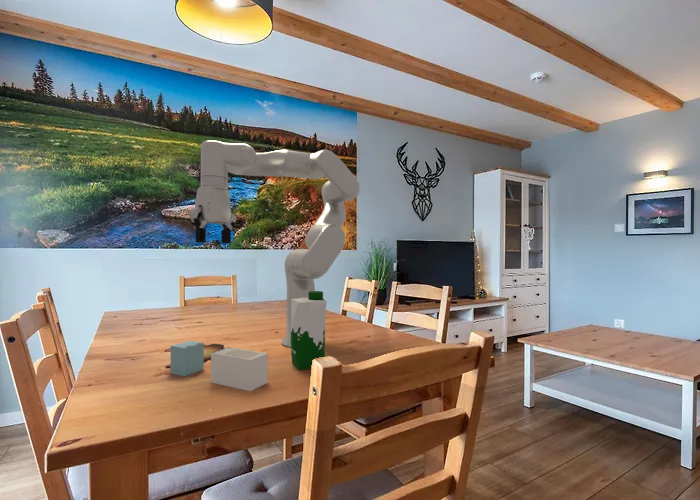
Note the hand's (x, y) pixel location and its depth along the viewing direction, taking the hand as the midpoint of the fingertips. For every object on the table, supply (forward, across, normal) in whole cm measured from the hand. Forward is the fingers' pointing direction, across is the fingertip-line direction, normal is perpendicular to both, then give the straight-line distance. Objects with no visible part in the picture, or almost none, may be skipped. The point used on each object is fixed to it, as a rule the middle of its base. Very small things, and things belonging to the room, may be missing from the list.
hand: (213, 242), depth 110 cm
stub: (+33, +13, +5) cm, 36 cm away
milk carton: (+34, -6, +29) cm, 45 cm away
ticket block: (+33, +13, +22) cm, 42 cm away
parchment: (+34, +1, -4) cm, 34 cm away
